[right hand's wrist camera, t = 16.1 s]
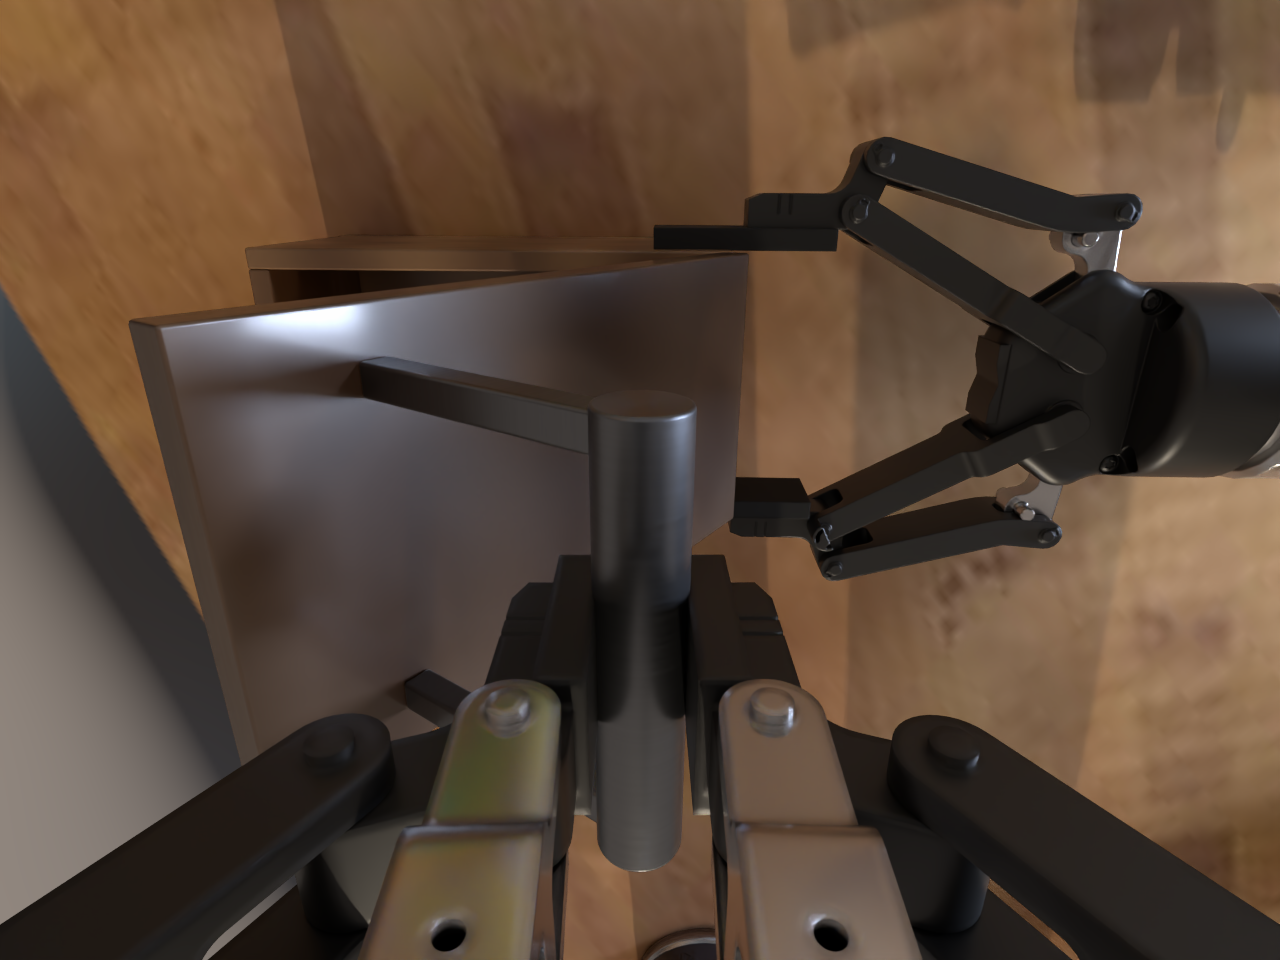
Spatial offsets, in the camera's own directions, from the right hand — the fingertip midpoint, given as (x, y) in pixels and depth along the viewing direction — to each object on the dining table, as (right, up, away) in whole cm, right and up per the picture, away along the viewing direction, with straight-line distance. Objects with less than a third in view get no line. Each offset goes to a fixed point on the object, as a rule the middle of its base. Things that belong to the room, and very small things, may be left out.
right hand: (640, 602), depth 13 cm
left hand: (0, +6, +16) cm, 17 cm away
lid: (-2, +3, +7) cm, 8 cm away
